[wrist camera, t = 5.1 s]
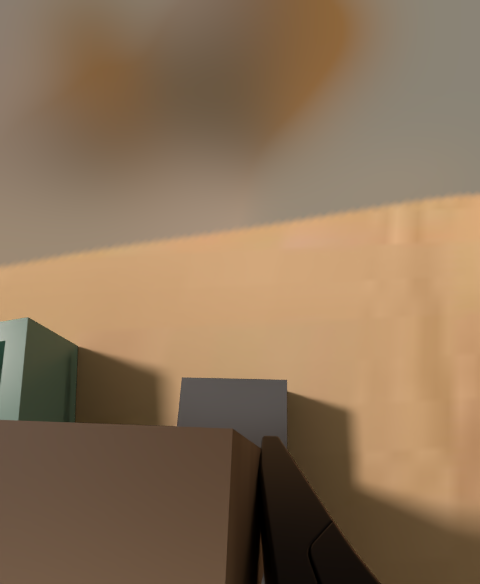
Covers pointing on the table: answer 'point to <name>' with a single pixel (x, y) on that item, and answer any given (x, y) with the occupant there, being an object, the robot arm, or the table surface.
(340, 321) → the table surface
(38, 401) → the box
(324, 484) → the table surface
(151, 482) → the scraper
